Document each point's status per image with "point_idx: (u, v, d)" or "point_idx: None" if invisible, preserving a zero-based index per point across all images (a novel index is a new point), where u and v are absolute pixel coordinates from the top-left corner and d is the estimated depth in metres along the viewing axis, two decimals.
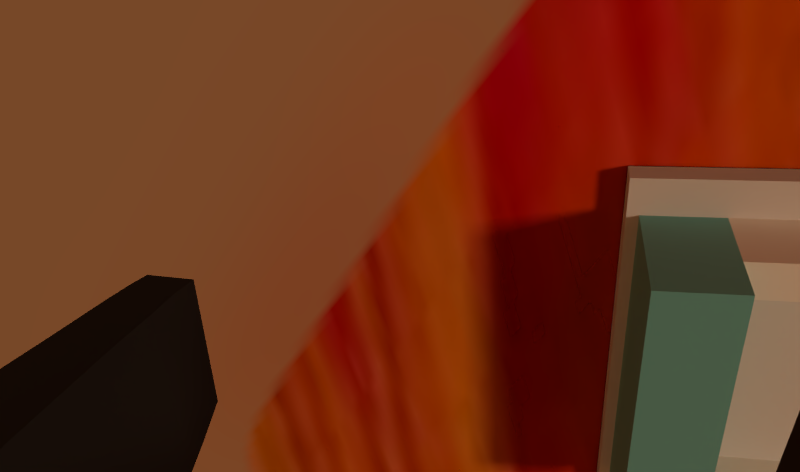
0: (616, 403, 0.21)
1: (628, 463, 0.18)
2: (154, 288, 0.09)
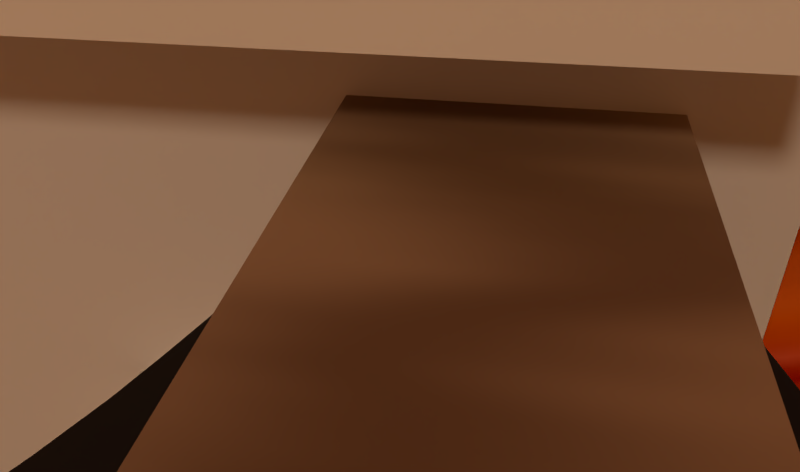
0: None
1: None
2: None
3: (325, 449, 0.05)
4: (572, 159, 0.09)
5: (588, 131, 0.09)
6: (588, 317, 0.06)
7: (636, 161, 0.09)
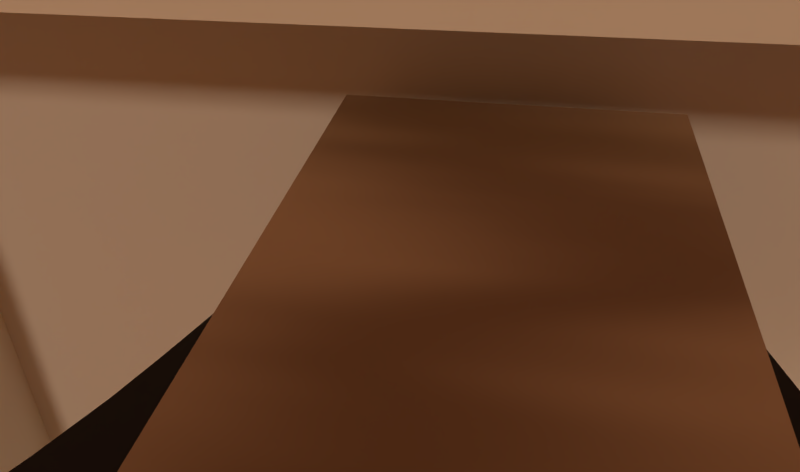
0: None
1: None
2: None
3: (326, 449, 0.05)
4: (572, 159, 0.09)
5: (589, 132, 0.09)
6: (588, 317, 0.06)
7: (636, 160, 0.09)
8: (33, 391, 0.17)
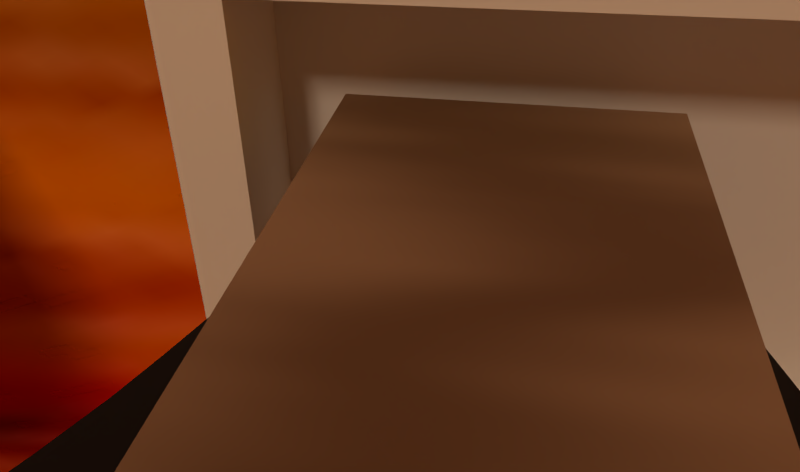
0: None
1: None
2: None
3: (326, 449, 0.05)
4: (572, 158, 0.09)
5: (588, 130, 0.09)
6: (588, 316, 0.06)
7: (635, 159, 0.09)
8: None
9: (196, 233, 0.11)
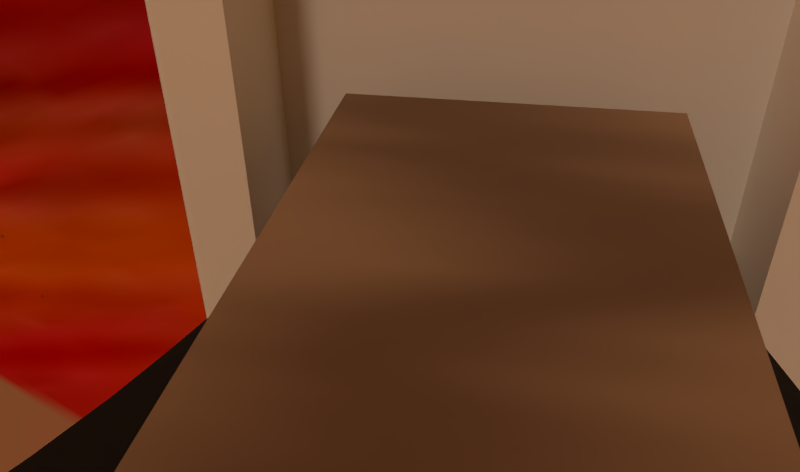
0: None
1: None
2: None
3: (325, 448, 0.05)
4: (572, 157, 0.09)
5: (588, 130, 0.09)
6: (587, 314, 0.06)
7: (635, 159, 0.09)
8: None
9: None
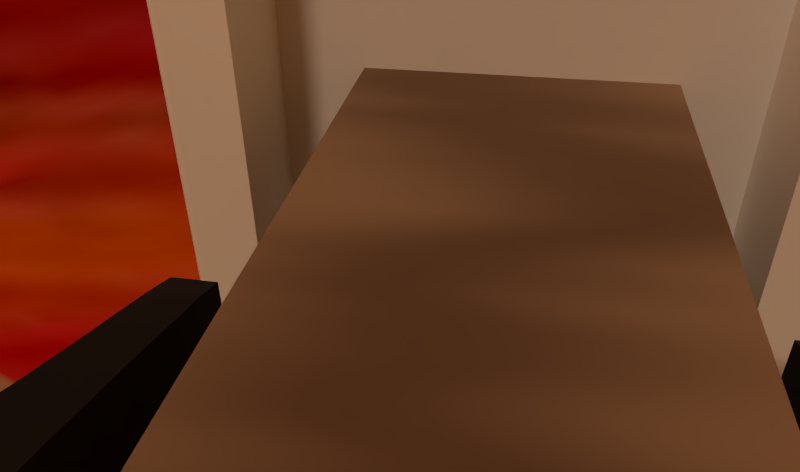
0: None
1: None
2: (180, 291, 0.09)
3: (363, 352, 0.06)
4: (574, 122, 0.10)
5: (590, 99, 0.10)
6: (589, 249, 0.07)
7: (632, 123, 0.10)
8: None
9: None
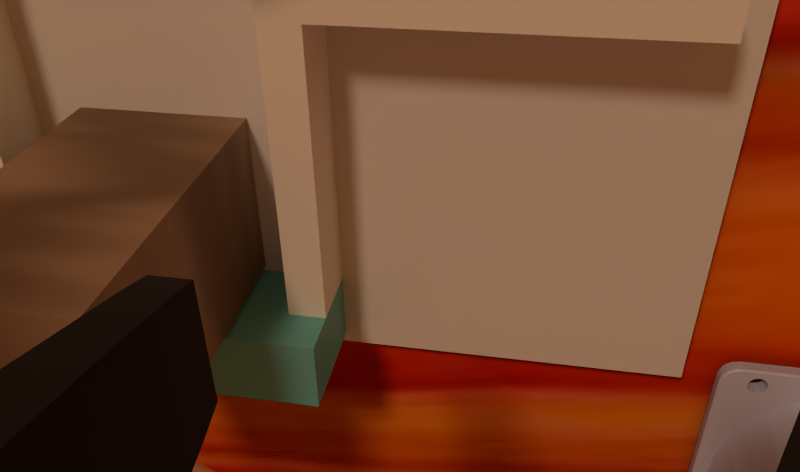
0: None
1: None
2: (155, 288, 0.09)
3: None
4: (165, 140, 0.18)
5: (187, 126, 0.19)
6: (110, 201, 0.16)
7: (195, 140, 0.18)
8: (16, 29, 0.19)
9: None
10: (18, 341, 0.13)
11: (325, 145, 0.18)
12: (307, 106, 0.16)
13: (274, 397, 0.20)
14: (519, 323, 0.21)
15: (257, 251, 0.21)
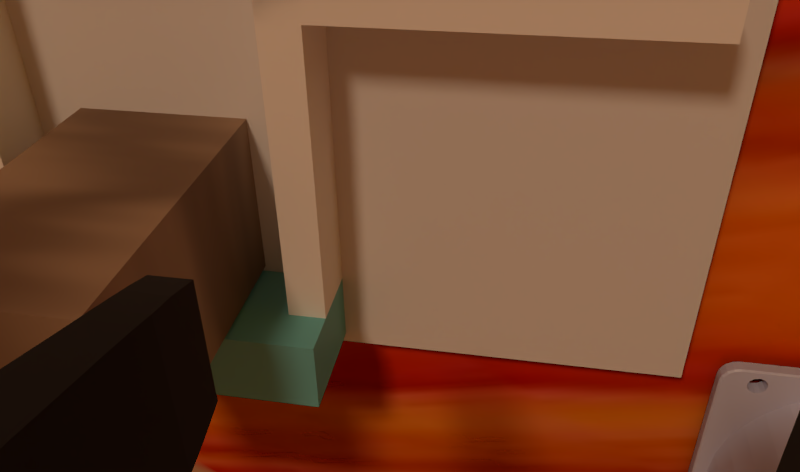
0: None
1: None
2: (154, 288, 0.09)
3: None
4: (165, 140, 0.18)
5: (187, 127, 0.19)
6: (109, 202, 0.16)
7: (195, 141, 0.18)
8: (16, 30, 0.19)
9: None
10: (17, 342, 0.13)
11: (325, 145, 0.18)
12: (307, 107, 0.16)
13: (273, 397, 0.20)
14: (519, 323, 0.21)
15: (257, 252, 0.21)
